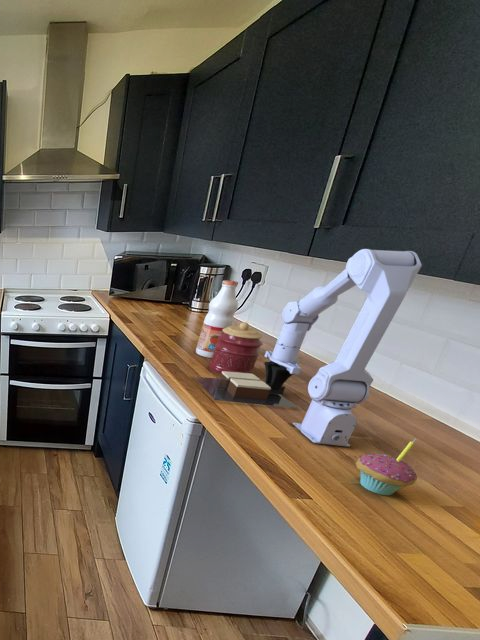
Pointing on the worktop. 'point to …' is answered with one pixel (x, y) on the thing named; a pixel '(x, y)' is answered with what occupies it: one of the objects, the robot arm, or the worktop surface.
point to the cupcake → (386, 472)
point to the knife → (225, 382)
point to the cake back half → (238, 376)
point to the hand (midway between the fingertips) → (271, 387)
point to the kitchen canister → (236, 350)
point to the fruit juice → (217, 318)
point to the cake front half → (248, 389)
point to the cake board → (224, 395)
